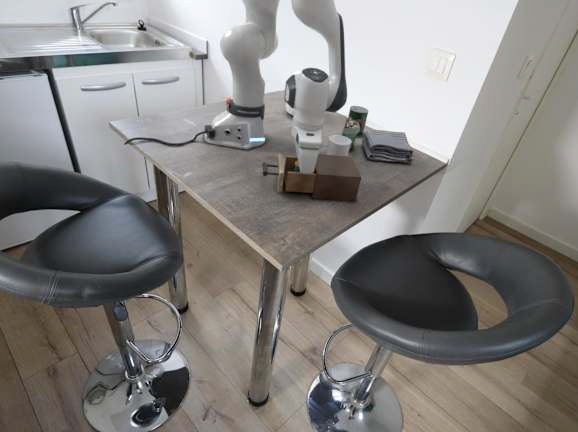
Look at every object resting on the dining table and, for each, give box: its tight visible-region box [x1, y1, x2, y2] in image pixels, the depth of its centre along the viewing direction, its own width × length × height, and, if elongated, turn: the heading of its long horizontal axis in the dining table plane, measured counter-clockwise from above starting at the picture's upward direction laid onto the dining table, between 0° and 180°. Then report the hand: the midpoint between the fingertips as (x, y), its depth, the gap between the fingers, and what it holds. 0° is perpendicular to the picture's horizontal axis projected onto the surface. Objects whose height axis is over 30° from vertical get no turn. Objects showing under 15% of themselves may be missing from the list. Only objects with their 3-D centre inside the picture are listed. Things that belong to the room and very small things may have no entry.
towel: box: [361, 129, 414, 164], centre depth 137 cm, size 15×18×8 cm
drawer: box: [262, 153, 317, 194], centre depth 108 cm, size 17×12×7 cm
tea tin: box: [294, 160, 300, 172], centre depth 108 cm, size 4×4×5 cm
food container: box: [341, 117, 360, 152], centre depth 137 cm, size 12×6×10 cm, turn 168°
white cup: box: [326, 134, 351, 157], centre depth 123 cm, size 8×8×10 cm
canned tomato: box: [347, 105, 369, 138], centre depth 150 cm, size 8×8×11 cm
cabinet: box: [311, 153, 362, 202], centre depth 110 cm, size 13×13×8 cm
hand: (301, 172), depth 108 cm, fingers closed on tea tin, 4 cm apart
